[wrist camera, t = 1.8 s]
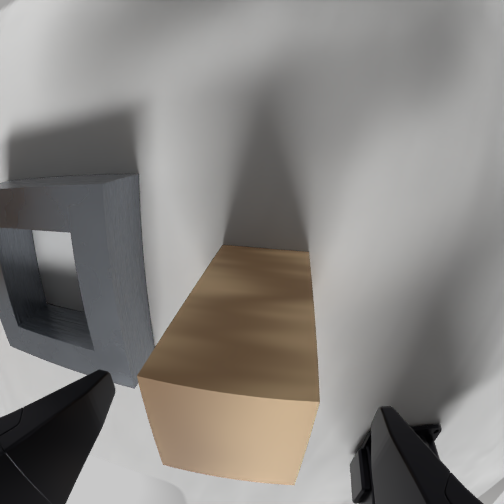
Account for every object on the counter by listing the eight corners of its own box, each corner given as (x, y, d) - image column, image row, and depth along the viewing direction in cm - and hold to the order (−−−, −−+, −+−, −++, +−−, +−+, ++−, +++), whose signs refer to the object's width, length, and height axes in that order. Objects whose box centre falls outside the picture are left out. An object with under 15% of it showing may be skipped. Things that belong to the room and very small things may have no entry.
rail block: (138, 173, 15) (102, 184, 12) (155, 354, 20) (134, 388, 16) (8, 180, 17) (-28, 191, 13) (35, 323, 21) (10, 345, 18)
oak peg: (308, 252, 16) (319, 401, 6) (299, 325, 17) (294, 485, 8) (222, 244, 16) (136, 376, 7) (222, 317, 18) (163, 464, 8)
